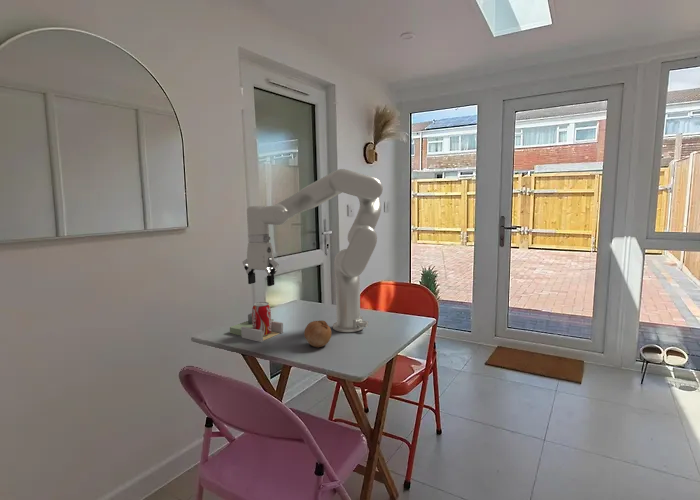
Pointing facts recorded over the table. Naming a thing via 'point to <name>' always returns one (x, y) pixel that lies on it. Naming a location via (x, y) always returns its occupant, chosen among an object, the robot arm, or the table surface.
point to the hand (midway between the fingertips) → (261, 284)
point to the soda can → (262, 317)
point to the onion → (317, 333)
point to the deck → (255, 330)
